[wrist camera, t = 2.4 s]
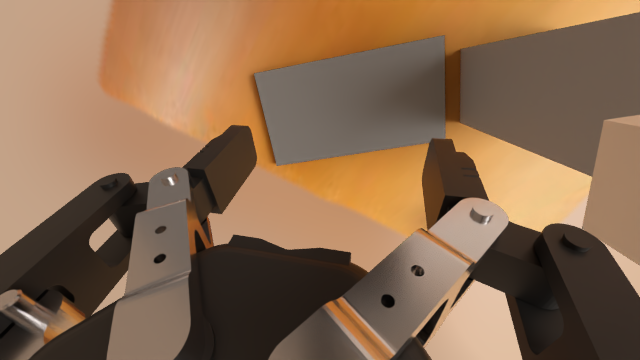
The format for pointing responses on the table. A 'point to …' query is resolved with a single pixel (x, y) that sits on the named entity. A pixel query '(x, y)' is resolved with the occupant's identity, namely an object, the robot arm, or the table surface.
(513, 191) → the table surface
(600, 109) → the pedestal
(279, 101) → the mat
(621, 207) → the slat
